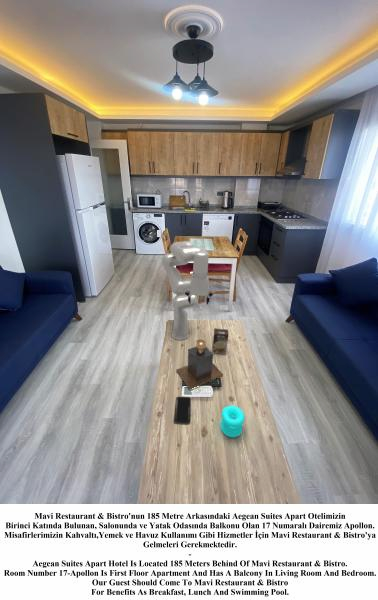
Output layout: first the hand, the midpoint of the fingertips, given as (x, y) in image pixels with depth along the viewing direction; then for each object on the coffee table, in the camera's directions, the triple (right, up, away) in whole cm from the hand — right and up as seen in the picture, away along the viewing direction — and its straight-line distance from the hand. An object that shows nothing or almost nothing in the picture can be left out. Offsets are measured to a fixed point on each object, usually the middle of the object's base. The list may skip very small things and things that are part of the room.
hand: (198, 302), depth 135 cm
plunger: (+1, -40, +5) cm, 40 cm away
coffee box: (+15, -33, +24) cm, 43 cm away
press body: (+1, -42, +6) cm, 42 cm away
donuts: (+14, -58, -24) cm, 64 cm away
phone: (-8, -53, -16) cm, 56 cm away
